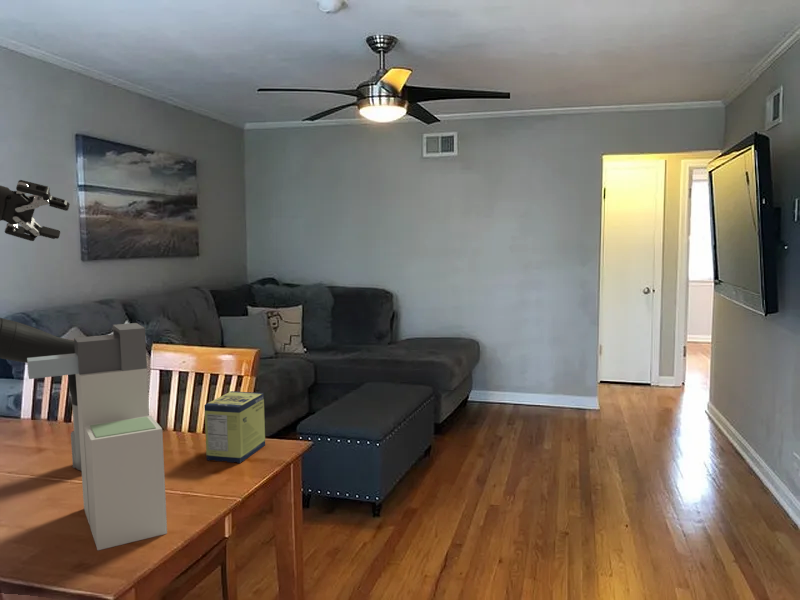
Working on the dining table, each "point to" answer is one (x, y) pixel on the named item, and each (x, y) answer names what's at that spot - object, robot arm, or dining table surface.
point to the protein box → (234, 426)
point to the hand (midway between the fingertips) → (64, 221)
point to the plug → (80, 358)
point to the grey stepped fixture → (121, 449)
